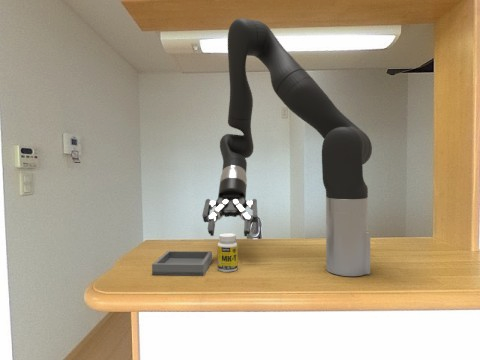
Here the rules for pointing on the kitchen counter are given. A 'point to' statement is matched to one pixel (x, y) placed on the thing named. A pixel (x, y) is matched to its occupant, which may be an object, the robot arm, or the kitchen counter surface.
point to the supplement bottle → (227, 253)
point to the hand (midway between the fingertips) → (228, 234)
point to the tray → (182, 263)
